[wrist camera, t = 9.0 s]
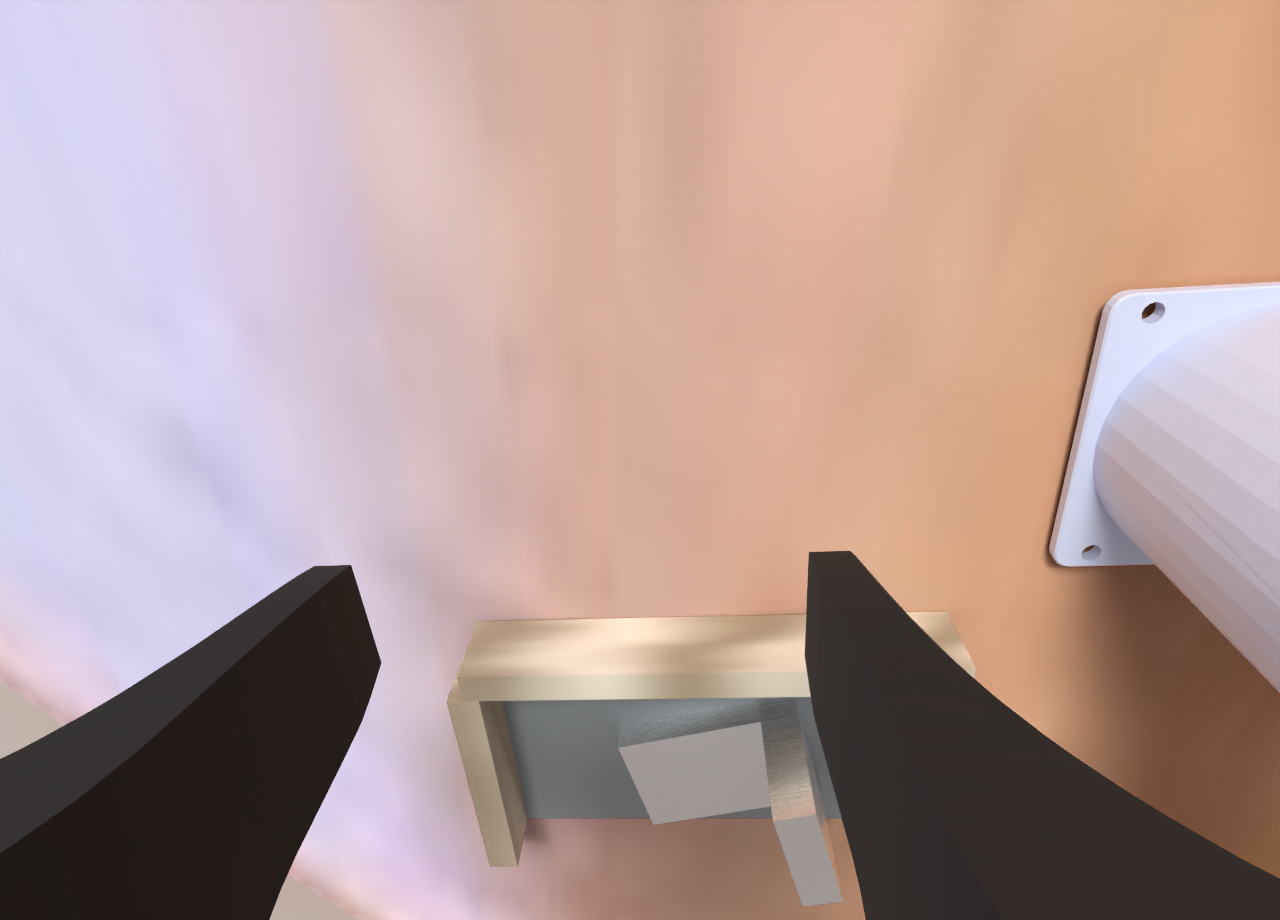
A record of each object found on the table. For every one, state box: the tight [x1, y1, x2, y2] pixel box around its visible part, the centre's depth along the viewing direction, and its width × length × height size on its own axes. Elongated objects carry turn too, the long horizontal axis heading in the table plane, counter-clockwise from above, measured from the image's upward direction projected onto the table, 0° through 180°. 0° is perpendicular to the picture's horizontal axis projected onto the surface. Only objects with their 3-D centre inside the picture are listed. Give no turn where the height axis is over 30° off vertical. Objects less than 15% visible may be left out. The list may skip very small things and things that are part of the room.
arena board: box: [503, 697, 842, 818], centre depth 25 cm, size 14×8×1 cm, turn 94°
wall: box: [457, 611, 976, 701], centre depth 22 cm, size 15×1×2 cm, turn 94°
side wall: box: [447, 647, 528, 867], centre depth 25 cm, size 1×8×2 cm, turn 4°
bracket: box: [618, 697, 843, 907], centre depth 23 cm, size 6×4×4 cm, turn 107°
